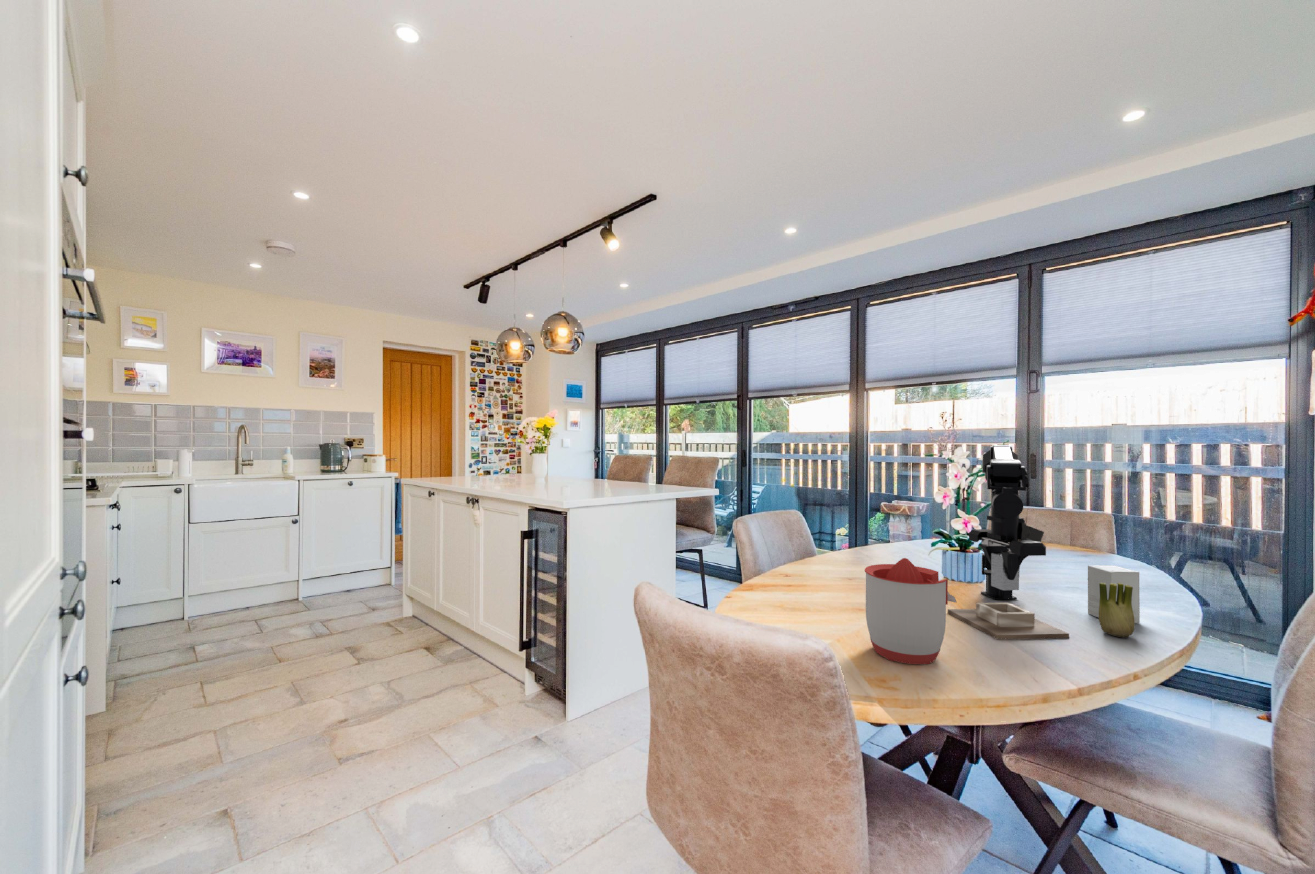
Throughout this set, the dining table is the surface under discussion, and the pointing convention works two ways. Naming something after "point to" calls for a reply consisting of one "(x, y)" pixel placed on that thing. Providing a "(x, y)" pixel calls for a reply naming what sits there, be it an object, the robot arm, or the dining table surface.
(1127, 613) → the fennel bulb
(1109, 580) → the supplement box
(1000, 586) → the metal peg
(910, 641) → the citrus juicer
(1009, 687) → the dining table surface
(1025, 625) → the socket board
